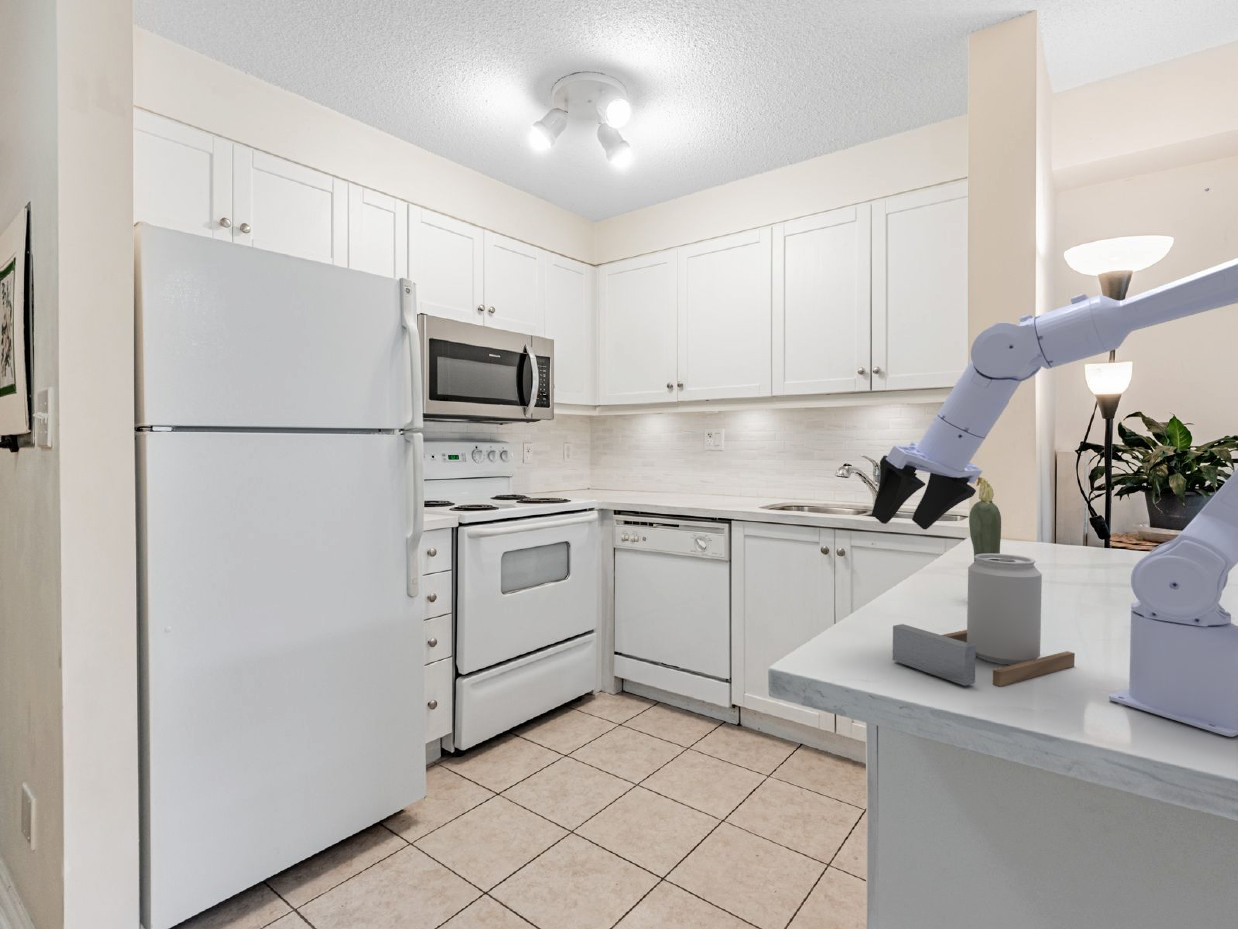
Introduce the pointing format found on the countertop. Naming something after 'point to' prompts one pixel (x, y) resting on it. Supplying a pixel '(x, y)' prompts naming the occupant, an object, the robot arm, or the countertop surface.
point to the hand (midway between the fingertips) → (899, 522)
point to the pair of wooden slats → (1025, 665)
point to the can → (1004, 608)
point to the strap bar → (934, 654)
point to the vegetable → (985, 522)
